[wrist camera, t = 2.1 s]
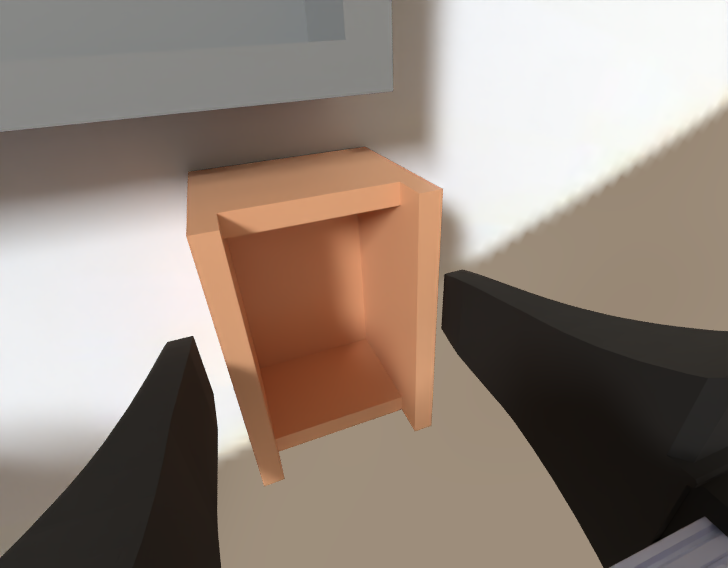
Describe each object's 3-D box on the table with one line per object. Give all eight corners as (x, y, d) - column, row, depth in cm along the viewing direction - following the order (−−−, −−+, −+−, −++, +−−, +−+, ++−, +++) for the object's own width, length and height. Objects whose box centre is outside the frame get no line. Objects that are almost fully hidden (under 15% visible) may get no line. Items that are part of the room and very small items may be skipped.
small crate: (375, 337, 17) (431, 425, 13) (245, 374, 16) (264, 486, 12) (364, 146, 13) (443, 189, 9) (187, 171, 12) (186, 236, 8)
